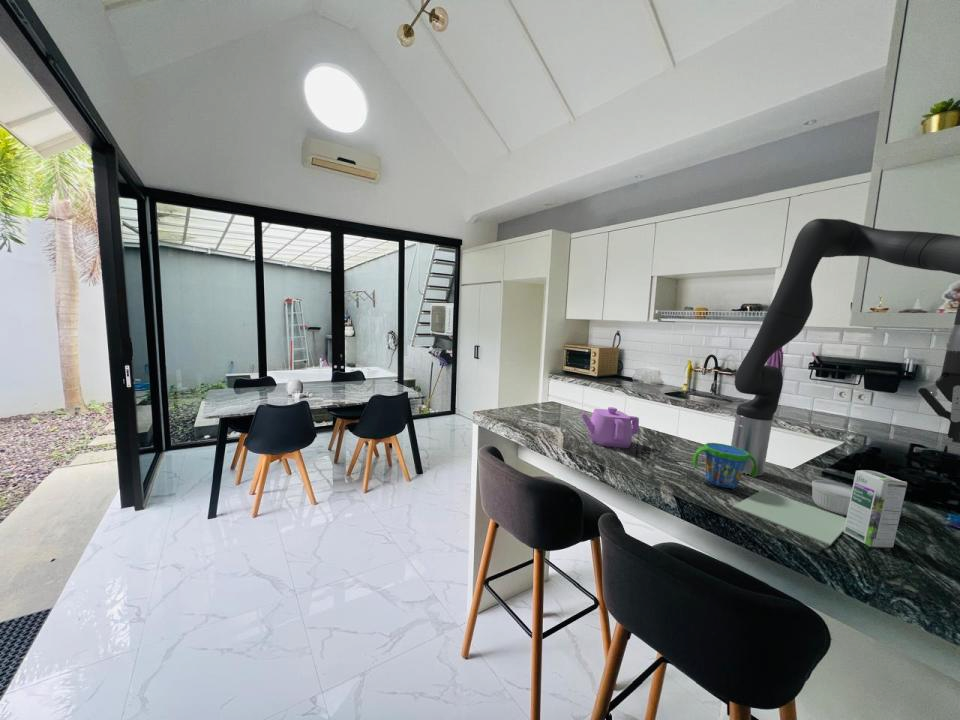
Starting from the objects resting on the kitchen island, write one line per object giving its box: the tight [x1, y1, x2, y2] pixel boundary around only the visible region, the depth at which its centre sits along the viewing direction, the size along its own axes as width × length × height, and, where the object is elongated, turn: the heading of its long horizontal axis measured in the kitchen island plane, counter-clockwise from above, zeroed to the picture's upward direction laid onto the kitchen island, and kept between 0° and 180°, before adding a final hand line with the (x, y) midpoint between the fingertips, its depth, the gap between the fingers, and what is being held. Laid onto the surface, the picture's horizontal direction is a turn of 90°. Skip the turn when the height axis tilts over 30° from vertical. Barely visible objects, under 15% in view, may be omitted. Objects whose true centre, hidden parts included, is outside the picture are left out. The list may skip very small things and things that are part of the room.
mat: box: [732, 489, 847, 547], centre depth 93 cm, size 20×18×1 cm
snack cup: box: [692, 442, 757, 490], centre depth 108 cm, size 16×10×10 cm
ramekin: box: [811, 479, 853, 517], centre depth 99 cm, size 11×11×5 cm
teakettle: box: [580, 406, 640, 449], centre depth 140 cm, size 17×17×12 cm
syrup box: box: [842, 469, 908, 548], centre depth 83 cm, size 6×6×14 cm
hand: (958, 442), depth 73 cm, fingers closed
